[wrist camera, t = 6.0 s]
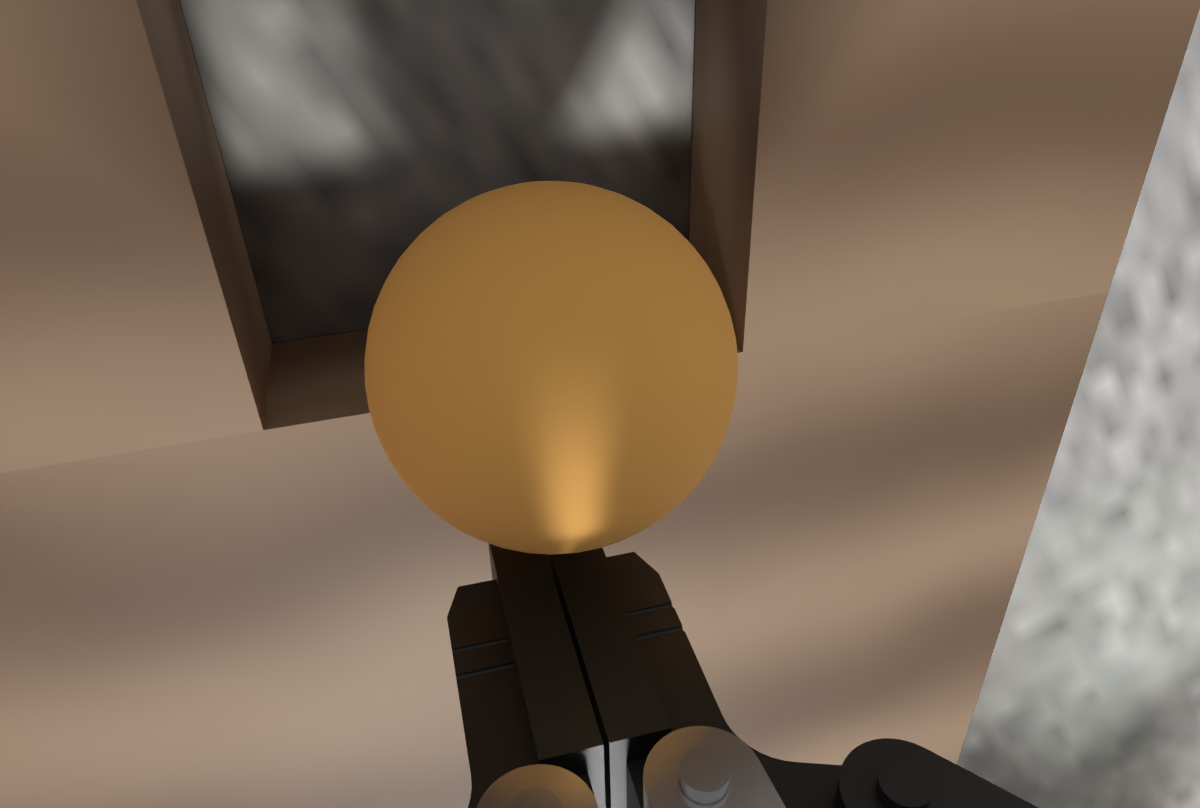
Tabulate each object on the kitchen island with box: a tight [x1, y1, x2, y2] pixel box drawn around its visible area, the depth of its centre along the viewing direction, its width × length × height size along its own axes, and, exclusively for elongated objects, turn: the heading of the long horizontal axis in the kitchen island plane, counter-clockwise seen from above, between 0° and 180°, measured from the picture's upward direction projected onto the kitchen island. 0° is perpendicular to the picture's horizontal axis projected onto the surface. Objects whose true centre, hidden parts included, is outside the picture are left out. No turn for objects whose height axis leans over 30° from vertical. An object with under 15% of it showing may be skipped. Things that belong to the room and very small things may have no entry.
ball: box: [364, 181, 738, 555], centre depth 11 cm, size 4×4×4 cm
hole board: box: [0, 0, 1200, 808], centre depth 16 cm, size 27×20×2 cm
